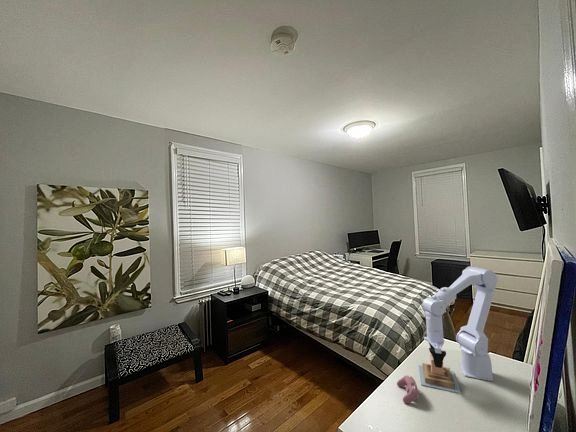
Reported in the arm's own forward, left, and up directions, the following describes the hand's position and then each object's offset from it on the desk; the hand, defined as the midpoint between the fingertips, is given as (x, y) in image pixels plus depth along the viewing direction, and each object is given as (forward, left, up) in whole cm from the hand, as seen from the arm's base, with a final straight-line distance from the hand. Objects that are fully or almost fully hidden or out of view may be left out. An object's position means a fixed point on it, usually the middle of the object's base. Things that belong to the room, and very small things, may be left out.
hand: (436, 361), depth 97 cm
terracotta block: (0, 0, -5) cm, 5 cm away
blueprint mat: (0, 0, -7) cm, 7 cm away
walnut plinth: (0, 0, -7) cm, 7 cm away
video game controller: (+12, +14, -7) cm, 19 cm away
